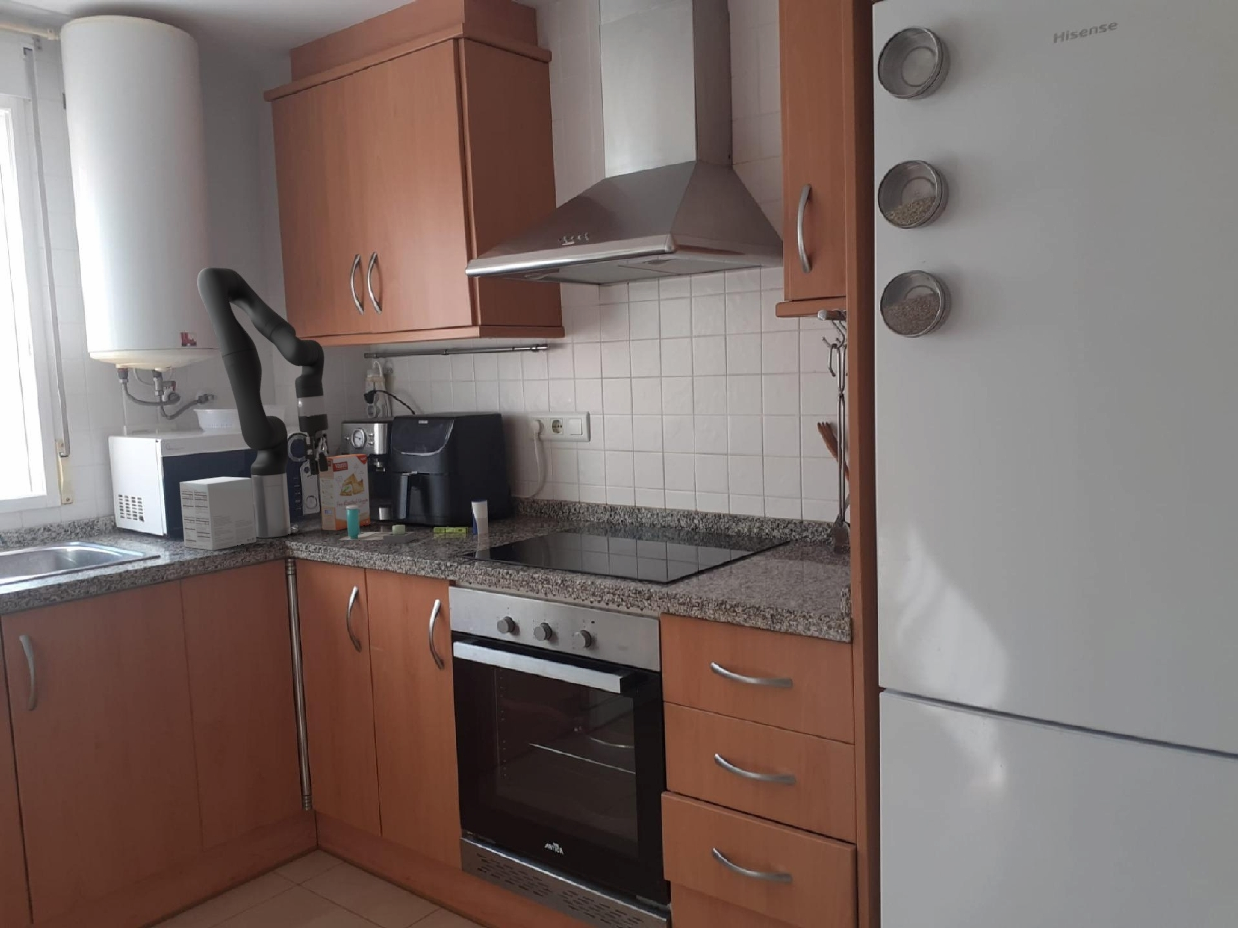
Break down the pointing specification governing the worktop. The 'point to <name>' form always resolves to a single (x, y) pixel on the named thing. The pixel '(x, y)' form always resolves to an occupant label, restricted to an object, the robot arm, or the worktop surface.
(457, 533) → the worktop surface
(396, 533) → the button
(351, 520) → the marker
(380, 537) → the framed whiteboard
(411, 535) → the button housing
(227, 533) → the supplement box
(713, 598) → the worktop surface
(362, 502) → the cracker box
